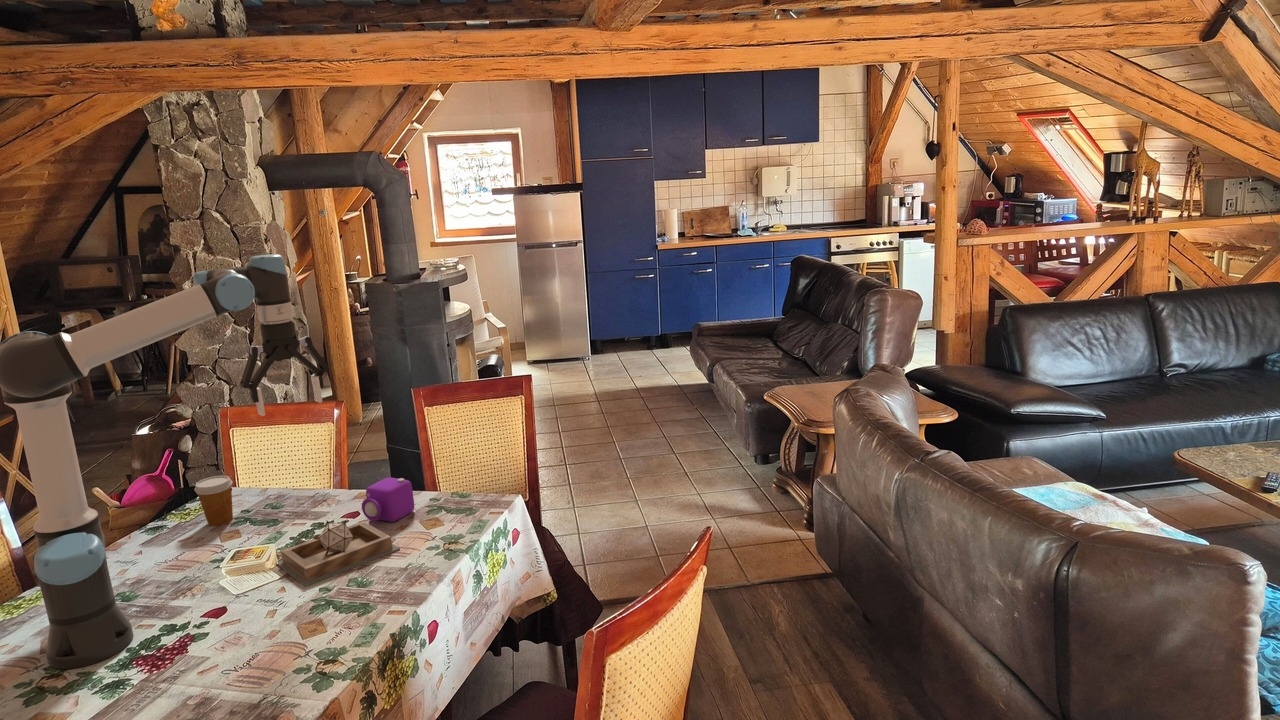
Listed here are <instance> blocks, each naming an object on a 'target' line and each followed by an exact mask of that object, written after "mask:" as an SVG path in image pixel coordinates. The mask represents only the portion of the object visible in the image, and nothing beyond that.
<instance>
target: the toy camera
mask: <svg viewBox="0 0 1280 720" xmlns="http://www.w3.org/2000/svg"><path fill="white" fill-rule="evenodd" d="M365 490H366V491H365V494H366V498H365V499H363V501H362V503H361V511H362V512H363V513H362V514H363V515H364V517H365V518H366V519H368V520H369V521H371V522H375V521H383V522H392V523H393V522H397V521H398V520H399V519H402V518H403V517H405V516H407V515H409V514H411V513H412V512H414V510H415V500H414V499H415V498H414V493H413V485H412V483H411V481H410V480H408V479H405V478H403V477H400V478H398V477H397V478H395V477H385V478H383V479H381V480H380V481H377V482H375V483H373V484H371V485H369V486H368V487H367V488H366V489H365Z"/></svg>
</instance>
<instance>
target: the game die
mask: <svg viewBox="0 0 1280 720" xmlns="http://www.w3.org/2000/svg"><path fill="white" fill-rule="evenodd" d="M318 537H319V538H318ZM318 537H315V538H314V539H316V540H317V539H319V541H320V542H321V544H322V545H323V547H324V548H325V550H326V551H327V552H326V553H325V554H326V555H327V554H328V552H345V550H346V548H347V547H348V545H349V544H350V542H351V541H352V539H353V538H356V537H357V536H353V535H352V533H351V532H350V530H349V529H348V526H347V520H344V521H343V522H336V523H335V522H329V520H326V526H325V527H324V529H323V530H322V531H321V534H320V535H319V536H318Z"/></svg>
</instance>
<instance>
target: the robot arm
mask: <svg viewBox="0 0 1280 720" xmlns="http://www.w3.org/2000/svg"><path fill="white" fill-rule="evenodd" d="M248 260H249V263H248V265H245V266H238V267H229V268H218V269H216V268H215V269H207V270H203V271H201V270H200V271H197V272H195V273H193V276H192V279H193V280H192V281H193V286H191V287H188V288H187V289H183V290H181V291H179V292H176V293H174V294H171V295H169V296H166V297H163V298H160V299H158V300H155V301H153V302H150V303H148V304H145V305H142V306H140V307H137V308H134V309H132V310H129V311H127V312H124V313H122V314H119V315H116V316H113V317H112V318H109V319H106V320H103V321H102V322H98V323H95V324H94V325H93V324H92V325H91V326H89V327H86V328H83V329H81V330H78V331H75V332H73V333H66V332H62V331H61V332H58V333H56V334H53V335H49V334H47V333H44V332H41V331H34V330H27V331H20V332H18V333H15V334H12V335H10V336H8V337H6V338H5V339H4V340H3V341H2V342H1V343H0V389H1V395H2V398H3V402H4V404H5V405H7V406H8V407H10V408H12V409H14V410H15V412H16V413H15V414H16V418H17V421H18V426H19V431H20V434H21V439H22V444H23V449H24V453H25V458H26V461H27V465H28V471H29V475H30V480H31V484H32V488H33V492H34V496H35V501H36V505H37V509H38V510H37V511H38V514H39V519H38V520H37V521H36V522H35V523H34V525H33V527H32V529H33V532H34V537H35V541H36V545H37V550H36V552H35V554H34V557H33V563H34V565H33V569H34V570H33V571H34V574H35V575H36V576H37V580H38V584H39V588H40V592H41V595H42V598H43V603H44V607H45V611H46V616H47V619H48V623H49V627H48V635H47V640H46V641H47V643H46V648H45V655H46V659H47V663H48V665H49V666H50V667H52V668H54V669H58V670H59V669H60V670H69V669H70V670H71V669H78V668H83V667H87V666H90V665H93V664H96V663H99V662H101V661H104V660H107V659H108V658H110V657H112V656H115V655H117V654H118V653H120V652H121V651H122V650H124V649H125V648H126V647H127V646H128V645H130V644H131V643H132V641H133V640H134V636H135V635H134V631H133V627H132V626H133V625H132V624H131V622H130V621H129V620H128V618H127V617H126V616H125V613H124V612H123V611H122V610H121V609H120V607H119V606H118V605H117V601H116V598H115V597H116V596H115V592H114V589H113V585H112V580H111V576H110V571H109V567H108V560H107V554H106V553H107V552H106V538H105V534H104V532H103V531H102V526H101V521H100V518H99V512H98V511H97V510H96V509H94V508H91V507H89V505H88V501H87V497H86V491H85V487H84V482H83V477H82V472H81V469H80V467H81V466H80V464H79V458H78V454H77V449H76V444H75V440H74V435H73V431H72V426H71V421H70V415H69V411H68V408H67V407H68V406H67V402H66V401H67V400H68V398H69V397H71V395H72V393H73V389H72V383H74V382H76V381H77V380H80V379H84V377H88V374H89V372H90V370H91V369H93V368H96V367H98V366H101V365H102V364H105V363H107V362H110V361H113V360H115V359H117V358H120V357H122V356H125V355H127V354H129V353H132V352H134V351H138V350H139V349H141V348H144V347H146V346H149V345H151V344H154V343H156V342H158V341H161V340H163V339H166V338H168V337H170V336H173V335H176V334H177V333H180V332H183V331H185V330H187V329H190V328H192V327H194V326H197V325H200V324H202V323H204V322H207V321H209V320H212V319H214V318H217V317H219V316H222V315H226V314H227V313H230V312H232V311H233V312H235V311H236V312H237V311H242V310H245V309H246V308H248V307H250V305H252V303H253V302H254V299H255V301H256V308H257V316H258V321H259V322H260V325H259V329H260V334H261V335H260V336H261V340H262V344H261V345H249V347H248V354H249V355H248V357H247V360H246V364H245V367H244V369H243V373H242V375H241V379H240V382H239V386H240V387H241V388H243V389H248V390H249V394H250V401H251V402H253V403H255V404H256V410H257V414H258V415H259V416H261V417H264V416H266V411H265V405H264V400H263V399H264V398H263V393H262V388H261V387H259V385H260V384H261V382H262V381H263V379H264V377H265V376H266V374H267V372H268V370H269V369H270V367H271V366H272V365H273V363H275V362H281V361H284V360H291V359H293V358H295V359H296V360H297V361H298V362H299V363H301V365H303V366H304V367H306V368H307V369H308V370H310V372H312V373H313V374H312V375H310V377H311V383H312V390H313V398H314V401H315V402H317V403H318V404H319V403H323V397H322V396H323V395H322V389H323V388H324V385H325V384H324V378H323V376H324V375H325V373H326V372H329V371H330V367H329V366H328V364H327V362H325V360H324V358H323V357H322V356H321V354H320V353H319V352H318V350H317V349H316V348H315V346H314V345H313V341H312V338H311V337H310V336H306V335H303V336H302V337H301V338H298V337H297V331H296V323H295V321H294V320H293V318H294V311H293V310H294V309H293V305H292V298H291V293H290V292H291V291H290V286H289V277H288V275H289V274H288V272H287V266H286V263H285V259H284V257H283V256H282V255H280V254H276V253H275V254H274V253H271V254H270V253H269V254H260V255H259V254H258V255H254V256H250V258H248ZM300 345H301V346H303V347H304V348H305V350H306V351H307V352H308V353H309V355H310V356H311V357H312V359H313V360H314V362H315V363H316V365H315V364H314V363H312V362H311V361H310V360H309V359H308V358H306V357H305V356H304V355H303V354H302V353H301V352H299V351H298V348H299V347H300ZM262 351H263V353H265V355H264V357H263V359H262V362H261V363H260V365H259V366H258V367H257V368H258V369H257V370H256V371H255V367H256V365H257V362H258V358H259V356H260V355H261V352H262ZM317 366H318V367H319V368H318V367H317ZM254 371H255V373H254ZM253 373H254V374H253Z"/></svg>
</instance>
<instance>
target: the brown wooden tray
mask: <svg viewBox="0 0 1280 720" xmlns="http://www.w3.org/2000/svg"><path fill="white" fill-rule="evenodd" d="M347 527H348V529H349V530H350V532H351V533H352V535H353V536H357V537H356V538H353V539H352V541H351V542H350V544H349V545H348V547H347V548H346V550H345V552H328V554H327V555H326V554H325V553H326V552H327V551H326V550H325V548H324V547H323V545H322V544H321V542H320V541H319V539H317V540H316V539H315V538H313V539H310V540H307V541H304V542H302V543H299V544H297V545H293V546H290V547H286V548H285V549H282V550H280V553H281V554H280V555H281V560H283V563H284V564H286V565H287V566H288V567H290V568H291V569H292V570H294V571H295V572H296V573H298V574H299V575H300V576H302V577H303V578H304V579H306V580H307V581H310V580H313V579H315V578H318V577H320V576H323V575H325V574H328V573H331V572H333V571H336V570H338V569H341V568H343V567H346V566H348V565H351V564H354V563H356V562H359V561H361V560H364V559H366V558H369V557H371V556H374V555H377V554H379V553H382V552H384V551H387V550H389V549H392V548H393V547H392V544H393V543H392V542H393V541H392V536H390V535H389V534H387V533H385V532H383V531H382V530H379V529H378V528H376V527H375V526H373V525H371V524H369V523H367V522H365V521H360V522H357V523H354V524H352V525H349V526H347ZM317 538H319V536H317Z"/></svg>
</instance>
